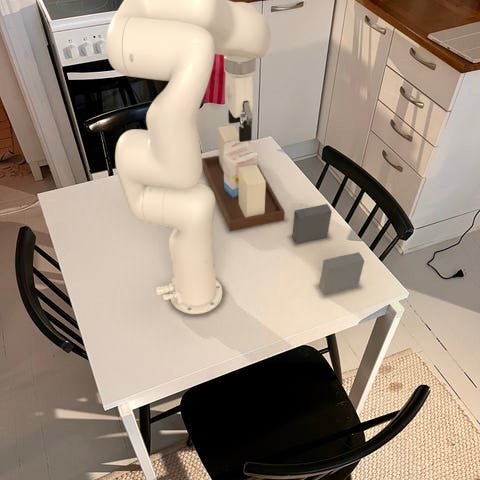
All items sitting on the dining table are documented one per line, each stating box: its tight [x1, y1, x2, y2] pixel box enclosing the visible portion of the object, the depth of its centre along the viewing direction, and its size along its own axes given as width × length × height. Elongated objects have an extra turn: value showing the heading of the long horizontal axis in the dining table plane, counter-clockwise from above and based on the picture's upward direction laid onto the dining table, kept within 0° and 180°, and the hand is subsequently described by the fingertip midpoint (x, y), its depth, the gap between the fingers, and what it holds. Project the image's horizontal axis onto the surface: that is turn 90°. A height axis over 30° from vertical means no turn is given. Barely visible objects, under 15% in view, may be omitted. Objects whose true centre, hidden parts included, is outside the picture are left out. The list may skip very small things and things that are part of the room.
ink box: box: [223, 139, 259, 197], centre depth 141 cm, size 8×5×15 cm, turn 123°
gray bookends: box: [291, 203, 365, 296], centre depth 126 cm, size 9×22×9 cm, turn 17°
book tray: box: [202, 155, 285, 232], centre depth 146 cm, size 16×32×3 cm, turn 17°
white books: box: [217, 124, 266, 218], centre depth 142 cm, size 5×29×12 cm, turn 17°
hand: (239, 131), depth 132 cm, fingers open, 9 cm apart
